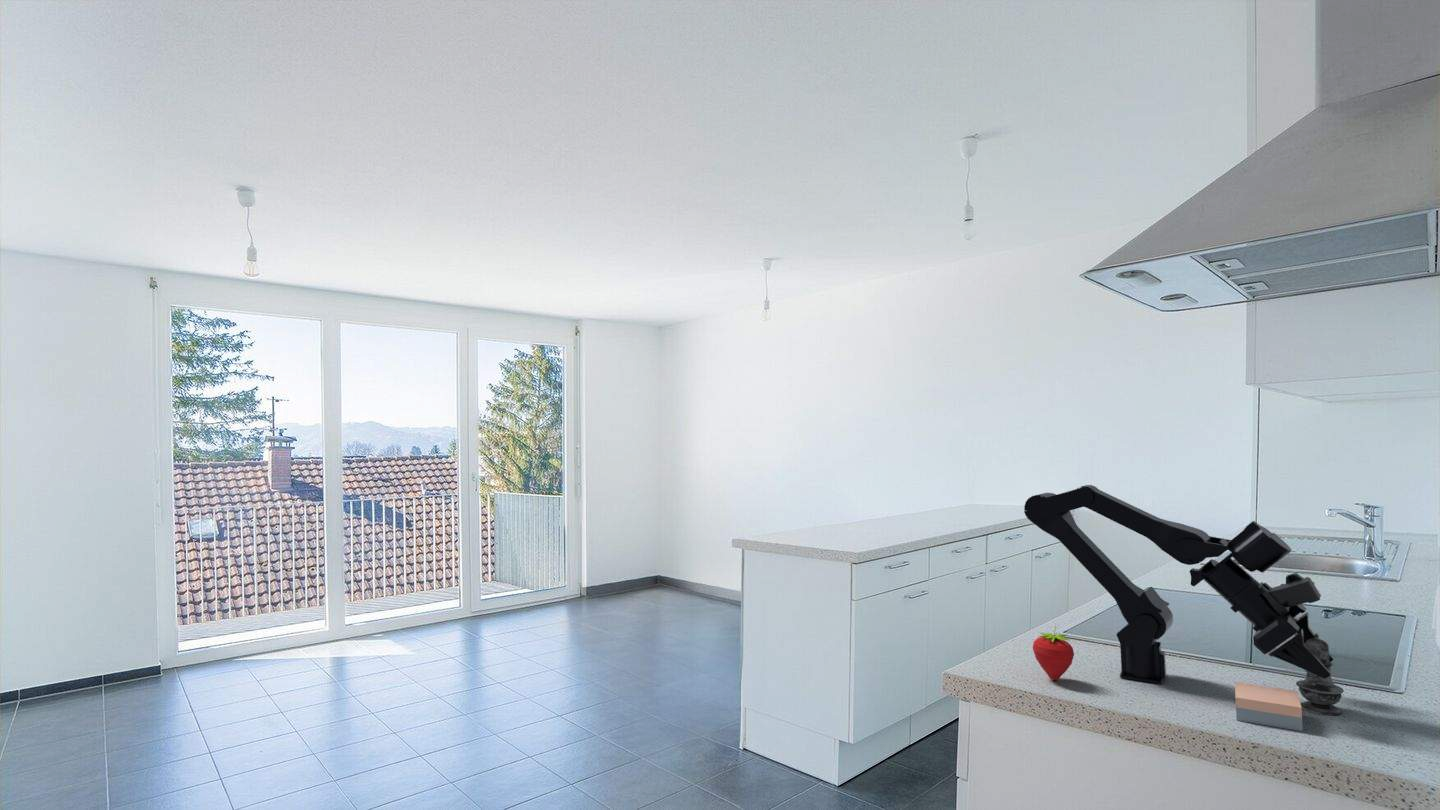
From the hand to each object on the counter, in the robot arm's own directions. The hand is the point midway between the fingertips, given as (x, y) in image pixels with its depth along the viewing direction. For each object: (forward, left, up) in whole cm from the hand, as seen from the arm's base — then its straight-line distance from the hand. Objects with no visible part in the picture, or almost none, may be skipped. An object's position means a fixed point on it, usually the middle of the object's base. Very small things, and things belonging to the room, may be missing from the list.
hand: (1329, 668), depth 114 cm
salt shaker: (-1, 0, -7) cm, 7 cm away
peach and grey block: (-8, -8, -7) cm, 13 cm away
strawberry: (-39, -7, -7) cm, 41 cm away
